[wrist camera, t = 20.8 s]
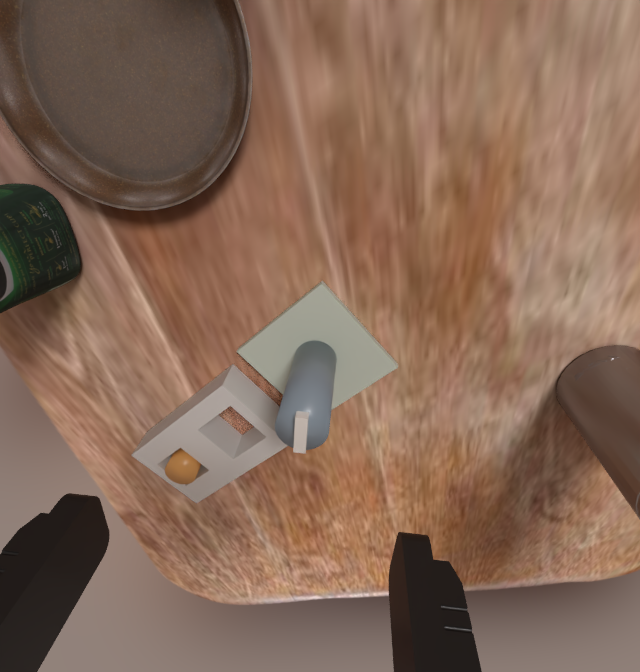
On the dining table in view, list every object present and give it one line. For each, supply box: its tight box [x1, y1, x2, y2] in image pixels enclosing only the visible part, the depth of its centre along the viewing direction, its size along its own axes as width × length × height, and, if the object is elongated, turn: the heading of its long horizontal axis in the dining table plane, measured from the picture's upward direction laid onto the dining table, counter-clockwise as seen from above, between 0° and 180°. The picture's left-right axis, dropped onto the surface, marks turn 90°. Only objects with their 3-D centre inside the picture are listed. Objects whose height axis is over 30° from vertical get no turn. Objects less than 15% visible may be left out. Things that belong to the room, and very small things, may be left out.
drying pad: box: [237, 281, 398, 410], centre depth 43 cm, size 12×12×1 cm
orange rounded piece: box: [165, 448, 202, 484], centre depth 48 cm, size 4×4×3 cm
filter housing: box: [132, 364, 288, 503], centre depth 48 cm, size 16×10×4 cm, turn 131°
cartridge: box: [275, 340, 337, 453], centre depth 37 cm, size 4×4×12 cm
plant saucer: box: [0, 0, 252, 211], centre depth 31 cm, size 21×21×3 cm
